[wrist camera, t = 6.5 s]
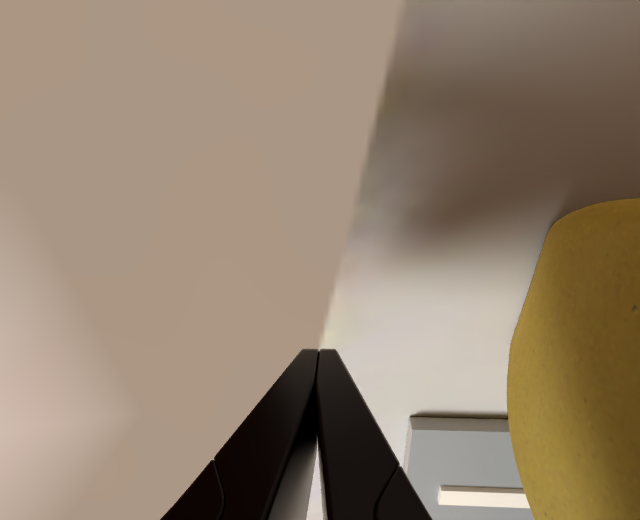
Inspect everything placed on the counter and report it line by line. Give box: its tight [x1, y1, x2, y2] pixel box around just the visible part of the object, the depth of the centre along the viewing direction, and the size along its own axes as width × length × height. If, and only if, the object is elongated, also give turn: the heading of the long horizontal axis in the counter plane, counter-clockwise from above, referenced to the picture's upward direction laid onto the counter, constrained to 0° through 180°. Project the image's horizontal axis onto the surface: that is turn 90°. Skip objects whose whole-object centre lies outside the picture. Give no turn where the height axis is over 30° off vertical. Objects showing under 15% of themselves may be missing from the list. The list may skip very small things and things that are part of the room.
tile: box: [403, 417, 534, 520], centre depth 14 cm, size 8×8×1 cm
